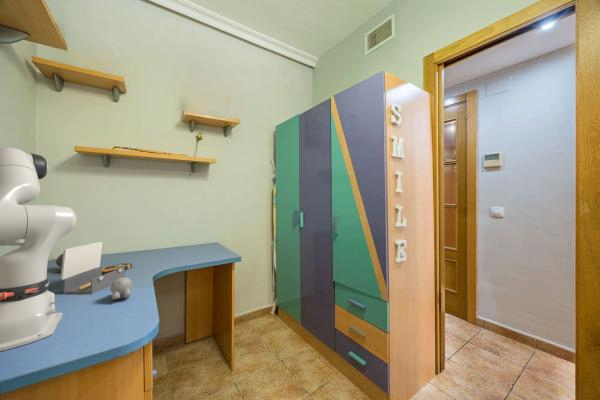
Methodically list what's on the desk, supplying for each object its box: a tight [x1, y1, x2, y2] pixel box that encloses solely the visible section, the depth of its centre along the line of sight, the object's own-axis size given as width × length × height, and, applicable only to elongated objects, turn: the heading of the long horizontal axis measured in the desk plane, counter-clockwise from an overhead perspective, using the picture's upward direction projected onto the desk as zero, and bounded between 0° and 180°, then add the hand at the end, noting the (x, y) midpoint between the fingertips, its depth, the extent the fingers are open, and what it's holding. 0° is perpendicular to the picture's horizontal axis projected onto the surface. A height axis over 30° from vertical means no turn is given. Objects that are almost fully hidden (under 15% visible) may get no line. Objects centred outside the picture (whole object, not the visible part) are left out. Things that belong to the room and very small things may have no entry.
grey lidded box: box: [62, 266, 126, 295], centre depth 111 cm, size 20×13×6 cm, turn 3°
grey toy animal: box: [110, 276, 133, 301], centre depth 98 cm, size 7×12×8 cm, turn 36°
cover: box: [60, 241, 103, 281], centre depth 111 cm, size 20×13×1 cm
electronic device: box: [102, 262, 133, 275], centre depth 133 cm, size 8×16×3 cm, turn 166°
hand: (53, 236), depth 110 cm, fingers closed
